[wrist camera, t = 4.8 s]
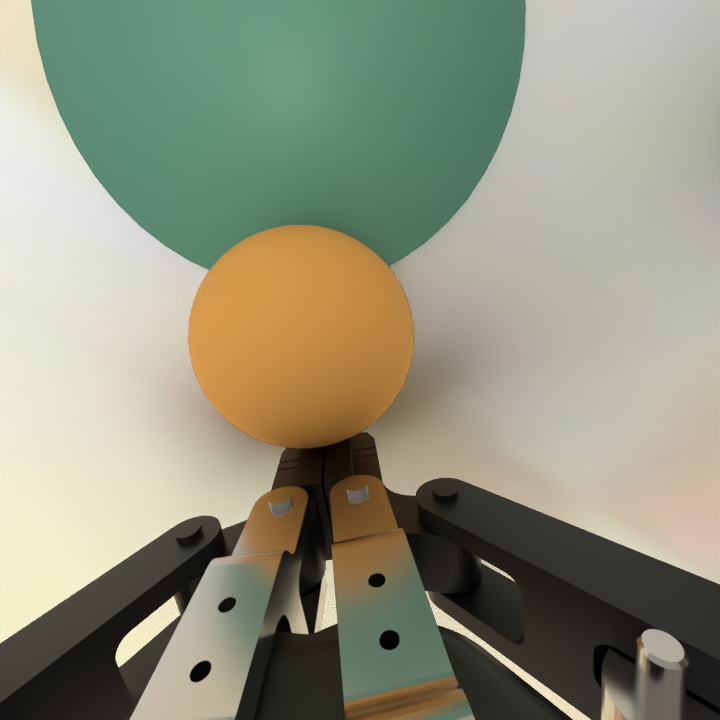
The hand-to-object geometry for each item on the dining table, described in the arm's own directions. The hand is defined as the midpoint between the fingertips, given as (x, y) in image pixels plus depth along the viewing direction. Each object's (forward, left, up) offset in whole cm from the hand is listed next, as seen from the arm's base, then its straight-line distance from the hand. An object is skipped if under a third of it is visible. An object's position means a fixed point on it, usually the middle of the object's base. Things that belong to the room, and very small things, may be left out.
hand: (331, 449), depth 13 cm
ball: (0, -4, +1) cm, 4 cm away
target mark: (-1, -12, -2) cm, 12 cm away
